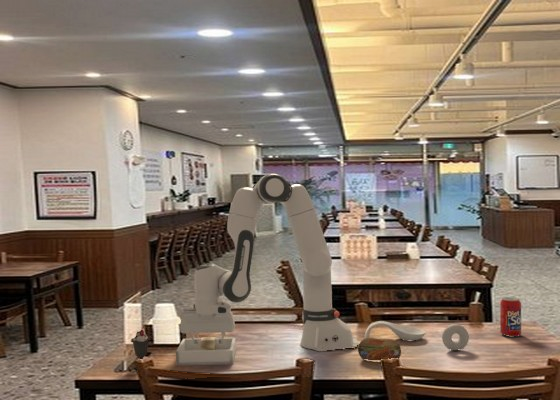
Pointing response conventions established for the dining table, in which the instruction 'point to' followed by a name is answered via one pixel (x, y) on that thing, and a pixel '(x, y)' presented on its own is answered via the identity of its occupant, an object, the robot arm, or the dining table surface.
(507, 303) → the soda can
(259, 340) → the dining table surface
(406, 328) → the spoon rest
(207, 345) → the birch cube
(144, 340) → the sundae
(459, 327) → the donut
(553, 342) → the dining table surface
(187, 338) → the reddish brown block
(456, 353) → the dining table surface
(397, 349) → the tin
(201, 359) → the bus tub
